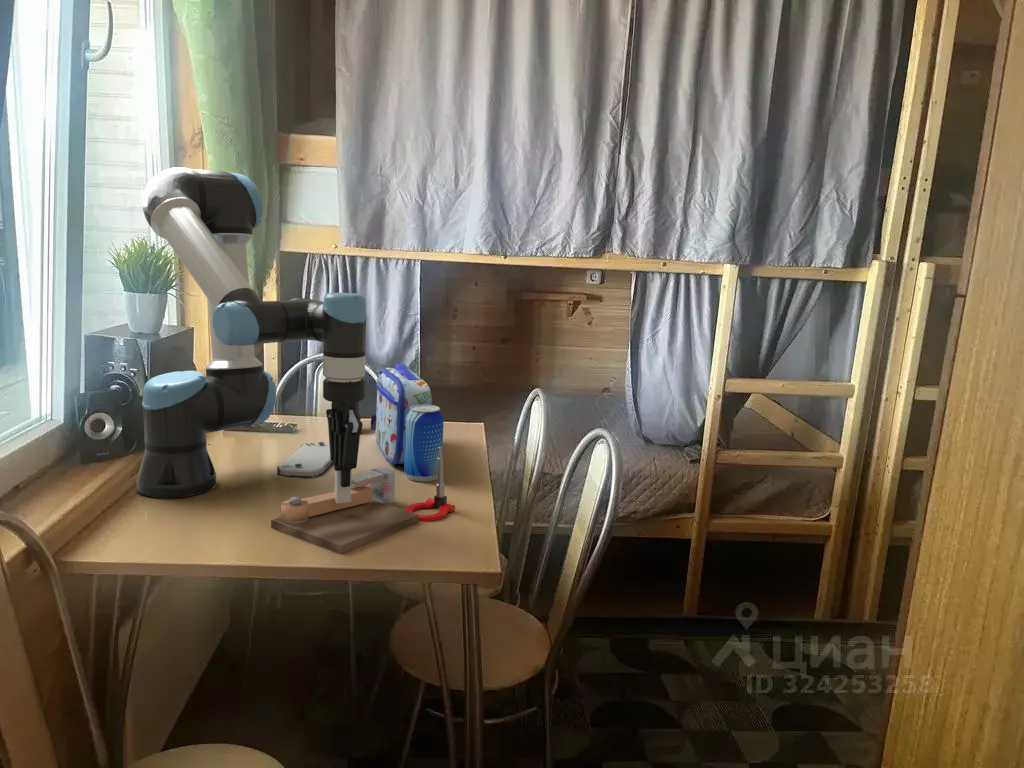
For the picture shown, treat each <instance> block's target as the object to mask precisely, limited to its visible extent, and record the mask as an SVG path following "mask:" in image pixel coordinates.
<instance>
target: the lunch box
mask: <svg viewBox="0 0 1024 768" xmlns="http://www.w3.org/2000/svg"><path fill="white" fill-rule="evenodd" d="M394 366H395V367H384V368H381V369H380V370H379V371H378V374H377V378H376V385H375V386H376V413H375V414H373V415H371V416H370V417H371V418H370V431H375V442H376V445H377V446H378V448H379V449H380V451H381V453H382V455H383V456H384V458H385V459H386V461H388V462H389V463H390V464H393V465H397V464H400V465H404V459H405V424H406V416H407V414H408V413H409V411H410V407H411V406H414V405H433V397H432V391H431V387H430V385H429V384H428V383H427V382H426V381H425V380H424V379H422V378H421V377H420V376H419V375H418V374H416V372H414V371H413V370H411V369H410V368H408V366H407V364H406V362H403V363H398V364H395V365H394Z"/></svg>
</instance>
